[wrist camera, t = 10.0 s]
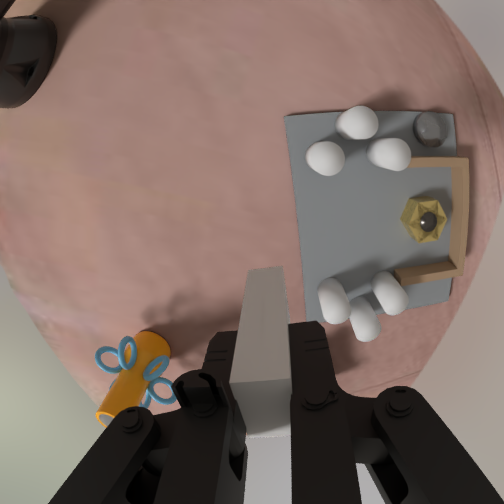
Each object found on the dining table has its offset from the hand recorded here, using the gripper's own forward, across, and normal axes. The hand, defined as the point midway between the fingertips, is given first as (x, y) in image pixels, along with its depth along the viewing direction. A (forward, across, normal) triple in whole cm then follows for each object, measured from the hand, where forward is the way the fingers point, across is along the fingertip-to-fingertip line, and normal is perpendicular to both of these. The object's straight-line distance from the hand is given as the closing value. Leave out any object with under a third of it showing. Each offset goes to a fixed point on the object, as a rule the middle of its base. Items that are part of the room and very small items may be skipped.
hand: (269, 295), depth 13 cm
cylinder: (+19, -20, -18) cm, 33 cm away
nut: (+18, +17, -3) cm, 25 cm away
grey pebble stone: (+19, +19, +6) cm, 27 cm away
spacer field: (+19, +12, -3) cm, 23 cm away
